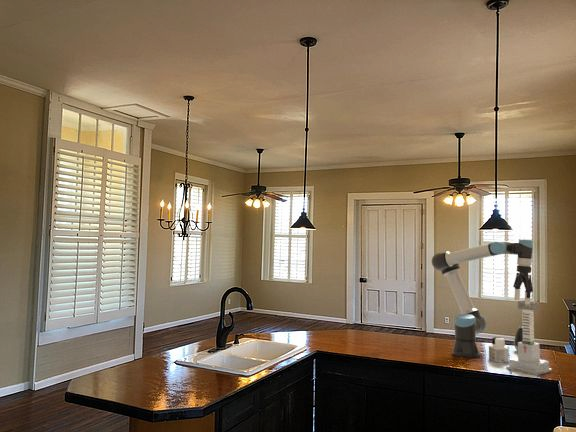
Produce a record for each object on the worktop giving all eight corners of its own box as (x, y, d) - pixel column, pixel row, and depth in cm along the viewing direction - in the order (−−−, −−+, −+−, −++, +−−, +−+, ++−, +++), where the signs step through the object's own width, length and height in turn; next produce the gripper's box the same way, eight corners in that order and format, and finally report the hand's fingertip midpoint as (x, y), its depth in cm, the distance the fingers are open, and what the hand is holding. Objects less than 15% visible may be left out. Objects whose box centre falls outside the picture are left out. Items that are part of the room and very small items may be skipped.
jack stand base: (506, 368, 246) (505, 339, 247) (522, 364, 255) (521, 336, 256) (536, 375, 233) (535, 345, 234) (552, 370, 242) (551, 341, 243)
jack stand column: (519, 358, 246) (517, 301, 248) (523, 357, 249) (522, 300, 251) (534, 361, 240) (532, 302, 241) (538, 360, 243) (537, 302, 244)
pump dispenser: (528, 349, 290) (527, 325, 291) (535, 353, 280) (534, 328, 281) (511, 349, 291) (510, 325, 292) (517, 353, 281) (517, 328, 282)
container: (488, 358, 266) (488, 336, 267) (501, 358, 267) (501, 336, 268) (495, 362, 259) (495, 339, 259) (508, 362, 259) (508, 339, 260)
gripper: (541, 267, 255) (538, 305, 255) (521, 264, 280) (519, 299, 279) (527, 266, 256) (524, 304, 255) (508, 263, 281) (506, 298, 280)
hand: (521, 301), depth 267 cm, fingers open, 13 cm apart
